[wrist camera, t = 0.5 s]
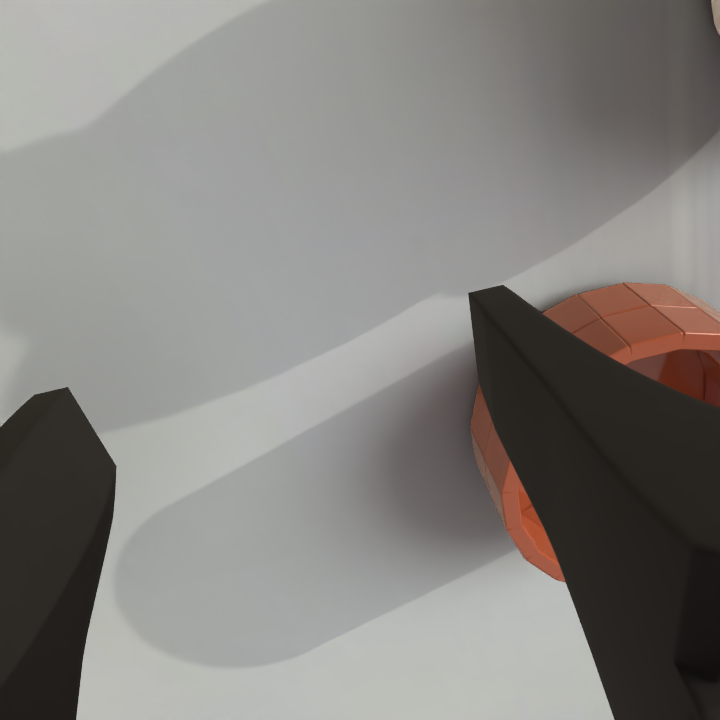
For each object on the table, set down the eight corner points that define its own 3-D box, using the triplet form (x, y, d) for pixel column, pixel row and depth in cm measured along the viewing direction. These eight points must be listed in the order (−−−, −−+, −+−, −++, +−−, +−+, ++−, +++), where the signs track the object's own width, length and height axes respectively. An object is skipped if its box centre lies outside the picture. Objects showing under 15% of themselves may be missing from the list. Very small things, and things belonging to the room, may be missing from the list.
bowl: (630, 532, 29) (685, 614, 25) (422, 470, 27) (447, 552, 23) (783, 333, 25) (877, 393, 21) (556, 234, 22) (616, 284, 19)
